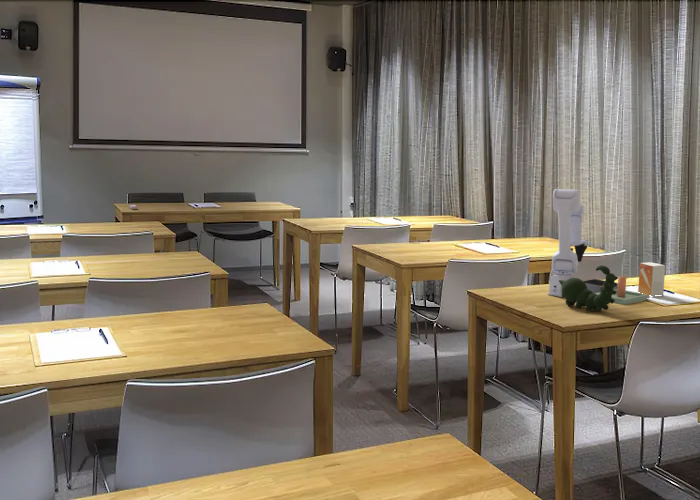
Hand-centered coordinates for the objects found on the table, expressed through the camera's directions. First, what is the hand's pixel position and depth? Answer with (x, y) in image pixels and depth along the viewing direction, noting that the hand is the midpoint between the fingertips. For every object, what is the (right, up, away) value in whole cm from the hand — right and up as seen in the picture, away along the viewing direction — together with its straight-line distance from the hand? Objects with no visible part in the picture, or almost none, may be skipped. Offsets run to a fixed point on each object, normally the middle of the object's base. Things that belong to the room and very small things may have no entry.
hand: (573, 262), depth 318 cm
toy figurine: (-9, -17, -42) cm, 46 cm away
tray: (+12, -14, -25) cm, 31 cm away
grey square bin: (+7, -12, -9) cm, 17 cm away
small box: (+27, -13, -17) cm, 35 cm away
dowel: (+12, -13, -26) cm, 31 cm away
